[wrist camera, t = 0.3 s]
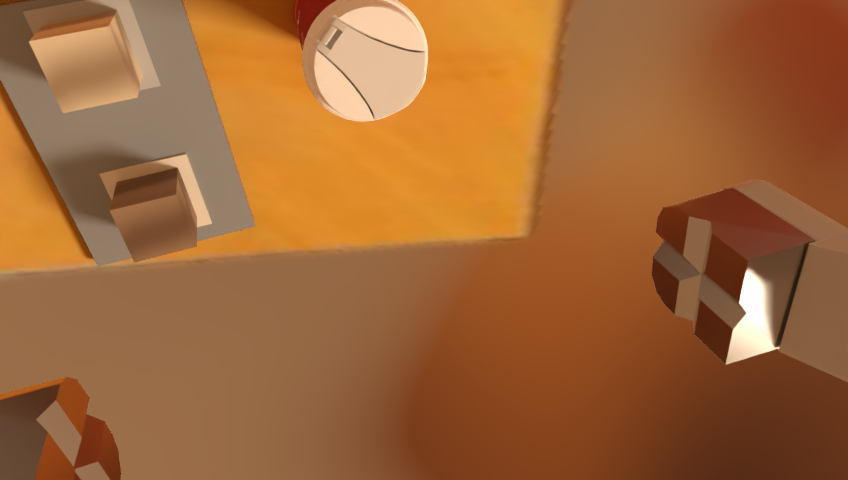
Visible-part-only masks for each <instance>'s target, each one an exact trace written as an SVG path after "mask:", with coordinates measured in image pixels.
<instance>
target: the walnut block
mask: <svg viewBox="0 0 848 480" xmlns="http://www.w3.org/2000/svg"><path fill="white" fill-rule="evenodd" d="M110 212H111V215H112V217H113V219H114V221H115V223H116V225H117V227H118V229H119V231H120V233H121V235H122V238H123V240H124V242H125V244H126V246H127V248H128V250H129V252H130V254H131V256H132V258H133V260H134V262H138V261H142V260H146V259H150V258H154V257H158V256H162V255H165V254H169V253H173V252H177V251H181V250H185V249H189V248H193V247H197V216H196V213H195V210H194V208H193V205H192V203H191V200H190V197H189V195H188V192H187V190H186V187H185V185H184V182H183V179H182V177H181V174H180V172H179V169H178V168H174V169H170V170H166V171H162V172H157V173H153V174H149V175H144V176H140V177H136V178H132V179H127V180H123V181H119V182H117V183H116V187H115V191H114V195H113V199H112V203H111V207H110Z"/></svg>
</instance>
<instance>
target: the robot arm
mask: <svg viewBox="0 0 848 480" xmlns="http://www.w3.org/2000/svg"><path fill="white" fill-rule="evenodd" d="M656 233H657V234H658V235H659V237H660V238H661V239H662V240H663V243H662V244H661V246H660V247H659V249H658V250H657V252H656V253H655V255H654V256H653V263H652V277H653V281H654V284H655V288H656V291H657V293H658V295H659V297H660V298H661V300H662V301H663V303H664V304H665V305H666V306H667V307H668V309H669V310H671V312H672V313H673V314H674V315H677V316H679V317H683V318H685V319H688V320H691V321H694V334H695V335H696V336H697V337H698V338H699V339H700V340H701V341H702V342H703V343H704V344H705V345H706V346H707V347H708V348H709V349H710V350H711V351H712V352H713V353H714V354H715V355H716V356H717V357H718V358H719V359H721V361H722V362H723V363H724V364H725V365H726V364H729V363H733V362H736V361H739V360H742V359H746V358H749V357H752V356H755V355H758V354H762V353H765V352H768V351H771V350H775V349H778V348H779V352H782V353H784V354H786V355H788V356H790V357H793V358H795V359H797V360H800V361H802V362H804V363H806V364H808V365H810V366H813V367H815V368H817V369H819V370H822V371H824V372H826V373H828V374H831V375H833V376H835V377H837V378H840V379H842V380H844V381H846V382H848V228H846V227H844V226H842V225H841V224H839V223H837V222H836V221H834V220H832V219H830V218H829V217H827V216H825V215H823V214H822V213H820V212H818V211H817V210H815V209H813V208H812V207H810V206H808V205H806V204H805V203H803V202H801V201H800V200H798V199H796V198H794V197H793V196H791V195H789V194H788V193H786V192H784V191H782V190H781V189H779V188H777V187H776V186H774V185H772V184H770V183H769V182H767V181H762V180H756V179H754V180H750V181H747V182H744V183H741V184H737V185H734V186H731V187H728V188H725V189H723V190H722V191H718V192H715V193H711V194H708V195H704V196H701V197H698V198H695V199H691V200H687V201H684V202H681V203H677V204H673V205H670V206H667V207H663V209H662V210H661V212H660V214H659V216H658V219H657V226H656ZM88 403H89V396H88V394H87V393H86V392H85V390H84V389H83V387H82V386H81V384H80V383H79V382H78V380H77V379H74V378H70V377H64V378H61V379H57V380H53V381H50V382H46V383H42V384H38V385H34V386H30V387H26V388H23V389H19V390H15V391H11V392H8V393H4V394H0V480H121V479H120V478H121V468H120V460H119V451H118V448H117V445H116V443H115V440H114V437H113V434H112V433H111V431H110V429H109V428H108V426H107V424H106V423H105V421H103V420H100V419H98V418H95V417H93V416H90V415H87V414H86V413H87V408H88Z"/></svg>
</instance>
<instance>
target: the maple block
mask: <svg viewBox="0 0 848 480" xmlns="http://www.w3.org/2000/svg"><path fill="white" fill-rule="evenodd" d="M29 43H30V45H31V47H32V49H33V52H34V54H35V56H36V58H37V60H38V62H39V64H40V66H41V68H42V70H43V72H44V75H45V77H46V79H47V81H48V83H49V85H50V87H51V89H52V91H53V93H54V95H55V98H56V100H57V102H58V104H59V106H60V108H61V110H62V112H63V113H67V112H72V111H76V110H81V109H86V108H91V107H95V106H100V105H105V104H110V103H114V102H119V101H124V100H129V99H133V98H137V97H138V93H139V89H140V85H141V81H142V77H143V76H142V73H141V71H140V68H139V66H138V63H137V60H136V58H135V55H134V53H133V50H132V47H131V45H130V42H129V40H128V37H127V34H126V32H125V29H124V27H123V24H122V22H121V19H120V16H119V14H118V11H117V10H114V11H109V12H104V13H98V14H93V15H87V16H82V17H77V18H71V19H66V20H60V21H55V22H50V23H44V24H43V26H42V27H41V28H40V29H39V30H38V31H37V32H36V34H35V35H34V36H33V37H32V38H31V39H30V40H29Z"/></svg>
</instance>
